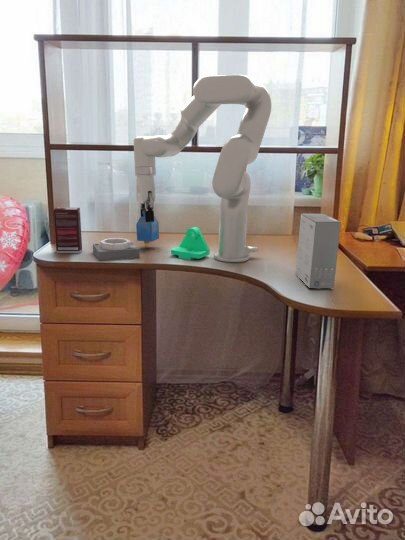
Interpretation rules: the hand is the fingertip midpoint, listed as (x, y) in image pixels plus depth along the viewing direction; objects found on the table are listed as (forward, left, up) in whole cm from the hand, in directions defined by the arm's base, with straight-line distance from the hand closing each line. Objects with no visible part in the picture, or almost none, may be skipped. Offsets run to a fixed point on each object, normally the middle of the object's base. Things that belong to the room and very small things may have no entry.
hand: (147, 220), depth 180 cm
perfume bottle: (0, 0, -8) cm, 8 cm away
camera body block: (+14, +7, -11) cm, 19 cm away
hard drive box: (-36, +56, -11) cm, 68 cm away
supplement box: (+29, -2, -11) cm, 31 cm away
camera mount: (-11, +17, -11) cm, 23 cm away
